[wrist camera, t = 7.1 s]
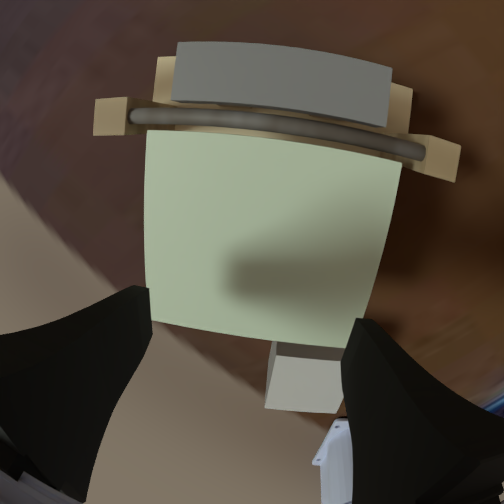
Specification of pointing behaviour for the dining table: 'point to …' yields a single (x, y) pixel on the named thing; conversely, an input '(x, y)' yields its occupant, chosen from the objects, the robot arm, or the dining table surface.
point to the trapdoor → (267, 199)
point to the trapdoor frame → (281, 125)
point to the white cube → (304, 378)
